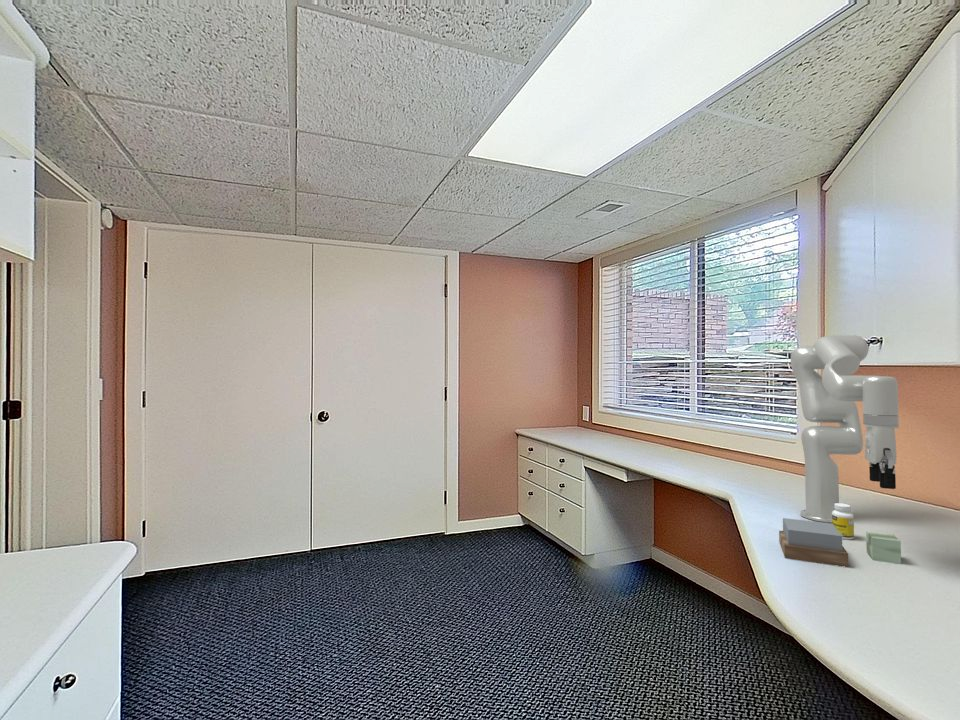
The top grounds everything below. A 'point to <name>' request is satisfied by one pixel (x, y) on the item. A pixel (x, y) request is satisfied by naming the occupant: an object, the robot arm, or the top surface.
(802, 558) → the tower base block
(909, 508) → the top surface
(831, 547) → the tower top block
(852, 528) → the supplement bottle
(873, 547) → the sage cube
